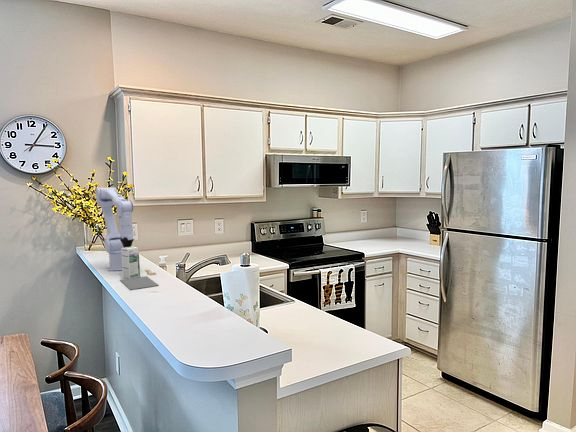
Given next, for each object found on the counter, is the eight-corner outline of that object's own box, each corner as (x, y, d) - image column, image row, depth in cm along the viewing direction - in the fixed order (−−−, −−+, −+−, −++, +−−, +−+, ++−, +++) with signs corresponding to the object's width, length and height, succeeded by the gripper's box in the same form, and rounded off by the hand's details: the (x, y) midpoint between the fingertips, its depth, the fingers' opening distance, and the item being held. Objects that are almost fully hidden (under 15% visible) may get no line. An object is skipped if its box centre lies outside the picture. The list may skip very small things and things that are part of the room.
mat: (120, 280, 192) (120, 279, 192) (146, 277, 198) (146, 276, 198) (130, 290, 175) (130, 289, 175) (158, 285, 182) (158, 285, 181)
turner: (142, 271, 212) (142, 269, 212) (149, 270, 214) (149, 268, 214) (149, 275, 201) (149, 274, 201) (156, 274, 203) (156, 273, 203)
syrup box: (129, 279, 194) (128, 248, 193) (122, 277, 198) (121, 247, 196) (140, 276, 199) (139, 246, 197) (133, 275, 202) (131, 245, 201)
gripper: (138, 225, 199) (139, 254, 200) (130, 223, 211) (132, 250, 213) (122, 227, 195) (124, 255, 197) (116, 225, 208) (117, 251, 209)
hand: (127, 253), depth 204 cm, fingers closed
